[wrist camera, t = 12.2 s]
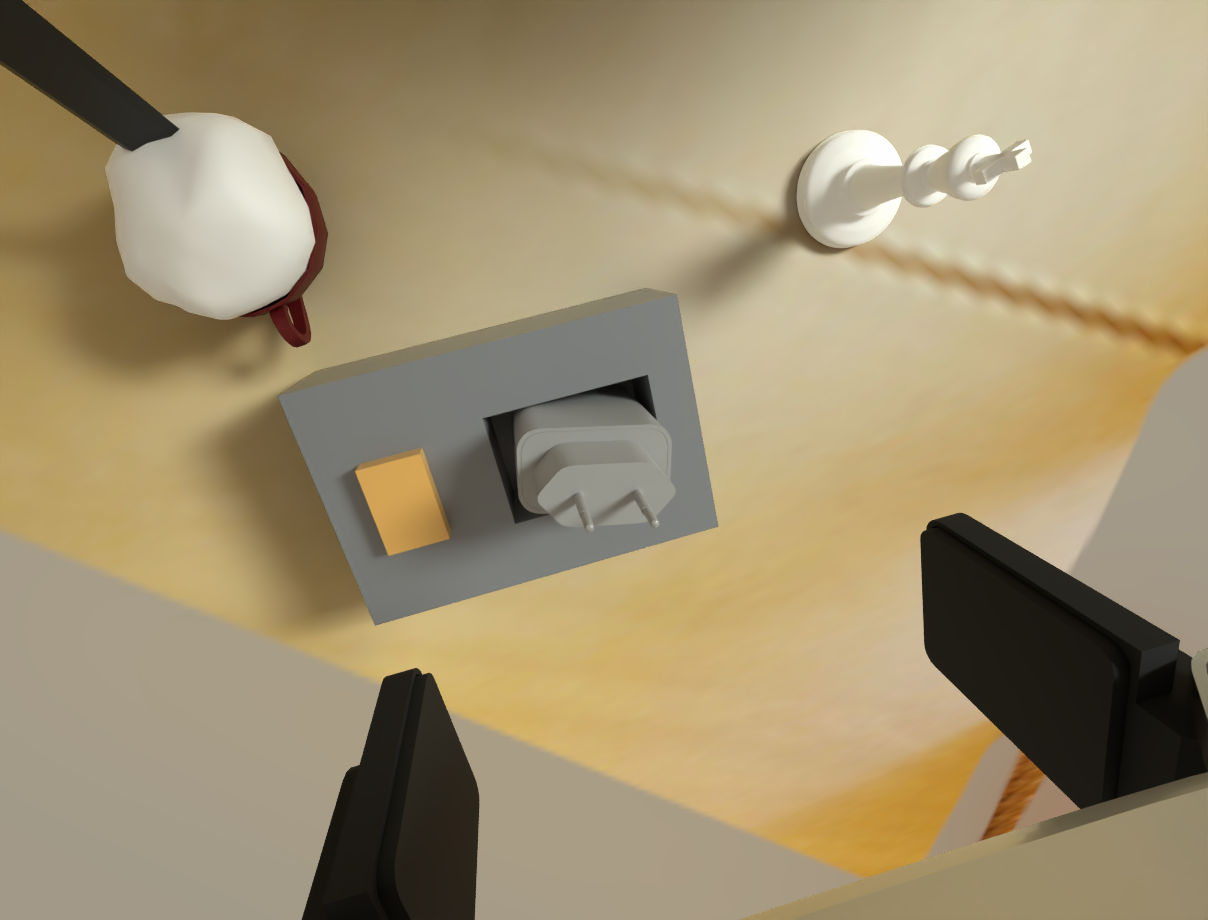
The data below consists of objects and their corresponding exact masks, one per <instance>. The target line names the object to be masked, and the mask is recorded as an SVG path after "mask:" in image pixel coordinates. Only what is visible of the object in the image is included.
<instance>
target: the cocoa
mask: <svg viewBox="0 0 1208 920" xmlns="http://www.w3.org/2000/svg"><path fill="white" fill-rule="evenodd" d="M0 64H1V65H2V66H4V67H5V68H7V69H8V70H9V71H11V72H12V73H14V74H15V75H17V76H18V77H20V78H21V79H23V80H24V81H26V82H27V83H28V84H30V85H31V86H33V87H34V88H36V89H37V90H39V91H40V92H42V93H43V94H45V95H46V96H48V97H49V98H50V99H52V100H53V101H55V102H56V103H58V104H59V105H61V106H62V107H64V108H65V109H67V110H68V111H69V112H71V113H72V114H74V115H75V116H77V117H78V118H80V119H81V120H83V121H84V122H86V123H87V124H88V125H90V126H91V127H93V128H94V129H96V130H97V131H99V132H100V133H102V134H103V135H105V136H106V137H107V138H109V139H110V140H112V141H113V142H115V143H116V146H115V148H114V150H113V152H112V154H111V156H110V158H109V161H108V163H107V165H106V167H105V172H106V177H107V181H108V185H109V189H110V193H111V197H112V201H113V205H114V214H115V230H116V243H117V246H118V249H119V252H120V255H121V258H122V261H123V264H124V268H125V273H126V275H127V277H128V278H129V279H130V280H131V281H133V282H134V283H135V284H136V285H138V286H139V287H140V288H141V289H143V290H144V291H145V292H146V293H148V294H149V295H150V296H151V297H153V298H154V299H155V300H157V301H161V302H164V303H168V304H172V305H176V306H178V307H180V308H182V309H183V310H185V311H187V312H189V313H194V314H198V315H202V316H206V317H210V318H214V319H218V320H231V319H233V318H236V317H256V316H260V315H264V314H266V313H270V316H271V318H272V320H273V322H274V324H275V326H276V328H277V329H278V331H279V333H280V334H281V336H282V337H283V338H284V339H285V340H286V341H287V342H288V343H289V344H290V345H291V346H293V347H300V346H303V345H306V344H307V343H309V342H310V340H311V330H310V325H309V321H308V316H307V313H306V309H305V306H304V302H303V298H302V295H303V294H304V292H305V291H306V289H307V288H308V287H309V285H310V284H311V283H312V281H313V280H314V279H315V277H316V276H317V275H318V273H319V272H320V271H321V269H322V268H323V263H324V257H325V250H326V243H327V237H328V232H327V229H326V225H325V222H324V219H323V215H322V212H321V209H320V205H319V202H318V199H317V195H316V194H315V192H314V191H313V189H312V188H311V187H310V186H309V184H308V183H307V182H306V181H305V180H304V178H303V177H302V176H301V175H300V174H299V172H298V171H297V170H296V169H295V167H294V166H293V165H292V164H291V163H290V161H289V160H288V159H287V158H286V156H284V155H283V154H282V153H280V152H279V151H278V149H277V147H276V145H275V143H274V141H273V140H272V138H271V136H270V135H268V134H266V133H264V132H262V131H260V130H258V129H256V128H255V127H253V126H251V125H249V124H247V123H245V122H243V121H241V120H239V119H238V118H236V117H233V116H228V115H223V114H218V113H198V112H185V113H176V114H166V115H162V114H161V113H159V112H158V111H157V110H156V109H154V108H153V107H152V106H151V105H150V104H148V103H147V102H146V101H145V100H143V99H142V98H141V97H140V96H139V95H137V94H136V93H135V92H134V91H132V90H131V89H130V88H129V87H127V86H126V85H125V84H124V83H123V82H121V81H120V80H119V79H118V78H116V77H115V76H114V75H113V74H112V73H110V72H109V71H108V70H107V69H105V68H104V67H103V66H102V65H101V64H99V63H98V62H97V61H96V60H94V59H93V58H92V57H91V56H89V55H88V54H87V53H86V52H85V51H83V50H82V49H81V48H80V47H78V46H77V45H76V44H75V43H74V42H72V41H71V40H70V39H69V38H67V37H66V36H65V35H64V34H63V33H61V32H60V31H59V30H58V29H56V28H55V27H54V26H53V25H51V24H50V23H49V22H48V21H47V20H45V19H44V18H43V17H42V16H40V15H39V14H38V13H37V12H36V11H34V10H33V9H32V8H31V7H29V6H28V5H27V4H26V3H25V2H23V1H22V0H0ZM287 306H288V308H289V311H290V314H291V317H292V320H293V323H292V321H291V319H290V316H289V314H288V308H287ZM293 324H294V325H293Z"/></svg>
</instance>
